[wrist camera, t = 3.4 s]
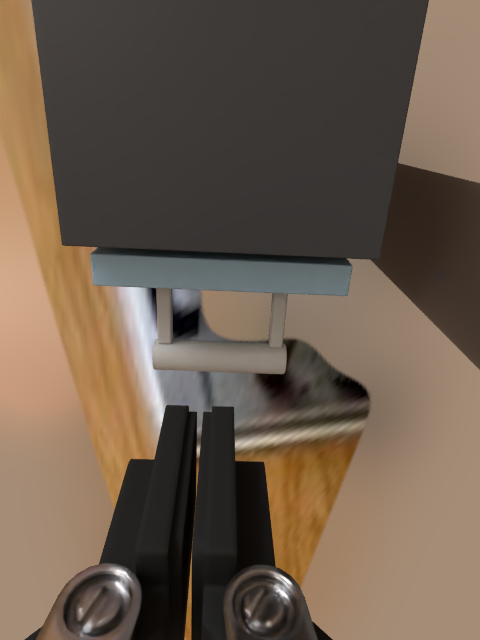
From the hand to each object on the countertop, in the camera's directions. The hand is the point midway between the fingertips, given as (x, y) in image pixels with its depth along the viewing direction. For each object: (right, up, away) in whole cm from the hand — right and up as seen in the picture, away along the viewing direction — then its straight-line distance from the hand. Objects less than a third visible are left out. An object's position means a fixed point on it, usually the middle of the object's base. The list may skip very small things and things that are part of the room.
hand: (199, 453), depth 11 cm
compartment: (+1, +14, +9) cm, 17 cm away
